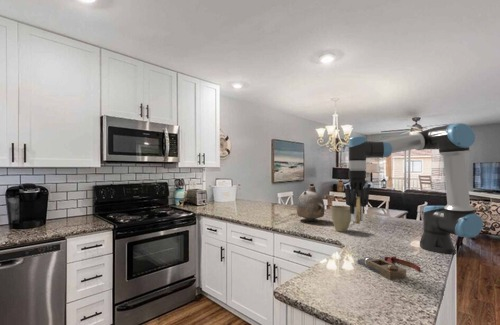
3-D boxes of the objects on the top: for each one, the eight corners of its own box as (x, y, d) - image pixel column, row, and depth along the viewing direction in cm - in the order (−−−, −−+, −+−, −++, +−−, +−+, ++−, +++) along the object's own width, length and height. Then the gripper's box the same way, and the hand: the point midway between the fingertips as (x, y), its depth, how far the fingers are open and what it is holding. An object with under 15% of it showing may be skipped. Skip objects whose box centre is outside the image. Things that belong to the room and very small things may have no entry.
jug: (290, 221, 203) (290, 183, 204) (301, 217, 221) (301, 182, 221) (320, 225, 189) (321, 184, 190) (330, 220, 207) (330, 183, 207)
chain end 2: (380, 265, 114) (380, 256, 114) (406, 277, 101) (406, 267, 102) (365, 267, 111) (365, 257, 112) (390, 279, 99) (390, 269, 99)
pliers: (391, 256, 128) (391, 250, 128) (422, 272, 108) (422, 266, 108) (369, 256, 126) (369, 251, 126) (396, 273, 106) (396, 267, 106)
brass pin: (357, 222, 122) (357, 196, 122) (361, 223, 119) (362, 197, 119) (352, 222, 121) (352, 196, 121) (356, 223, 118) (356, 197, 118)
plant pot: (349, 234, 166) (349, 209, 166) (326, 230, 175) (326, 207, 175) (355, 230, 178) (355, 206, 178) (334, 226, 186) (334, 204, 187)
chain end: (372, 261, 119) (372, 255, 119) (395, 272, 106) (395, 266, 106) (357, 262, 116) (357, 257, 116) (379, 274, 104) (379, 268, 104)
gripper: (365, 169, 126) (365, 218, 126) (337, 169, 121) (337, 219, 121) (377, 170, 119) (377, 221, 118) (347, 170, 114) (347, 223, 114)
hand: (357, 220), depth 120 cm, fingers closed on brass pin, 3 cm apart
